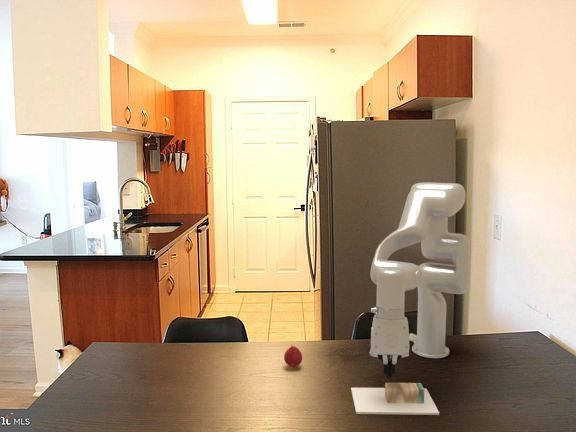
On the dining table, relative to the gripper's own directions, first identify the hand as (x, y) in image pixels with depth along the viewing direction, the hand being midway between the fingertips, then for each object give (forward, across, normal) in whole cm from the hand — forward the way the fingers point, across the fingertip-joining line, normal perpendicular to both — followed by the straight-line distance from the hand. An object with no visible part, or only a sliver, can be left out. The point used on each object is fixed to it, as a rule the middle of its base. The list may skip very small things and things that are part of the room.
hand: (388, 375), depth 140 cm
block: (+5, -1, 0) cm, 5 cm away
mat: (+8, +1, 0) cm, 8 cm away
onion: (+8, -27, +21) cm, 35 cm away
